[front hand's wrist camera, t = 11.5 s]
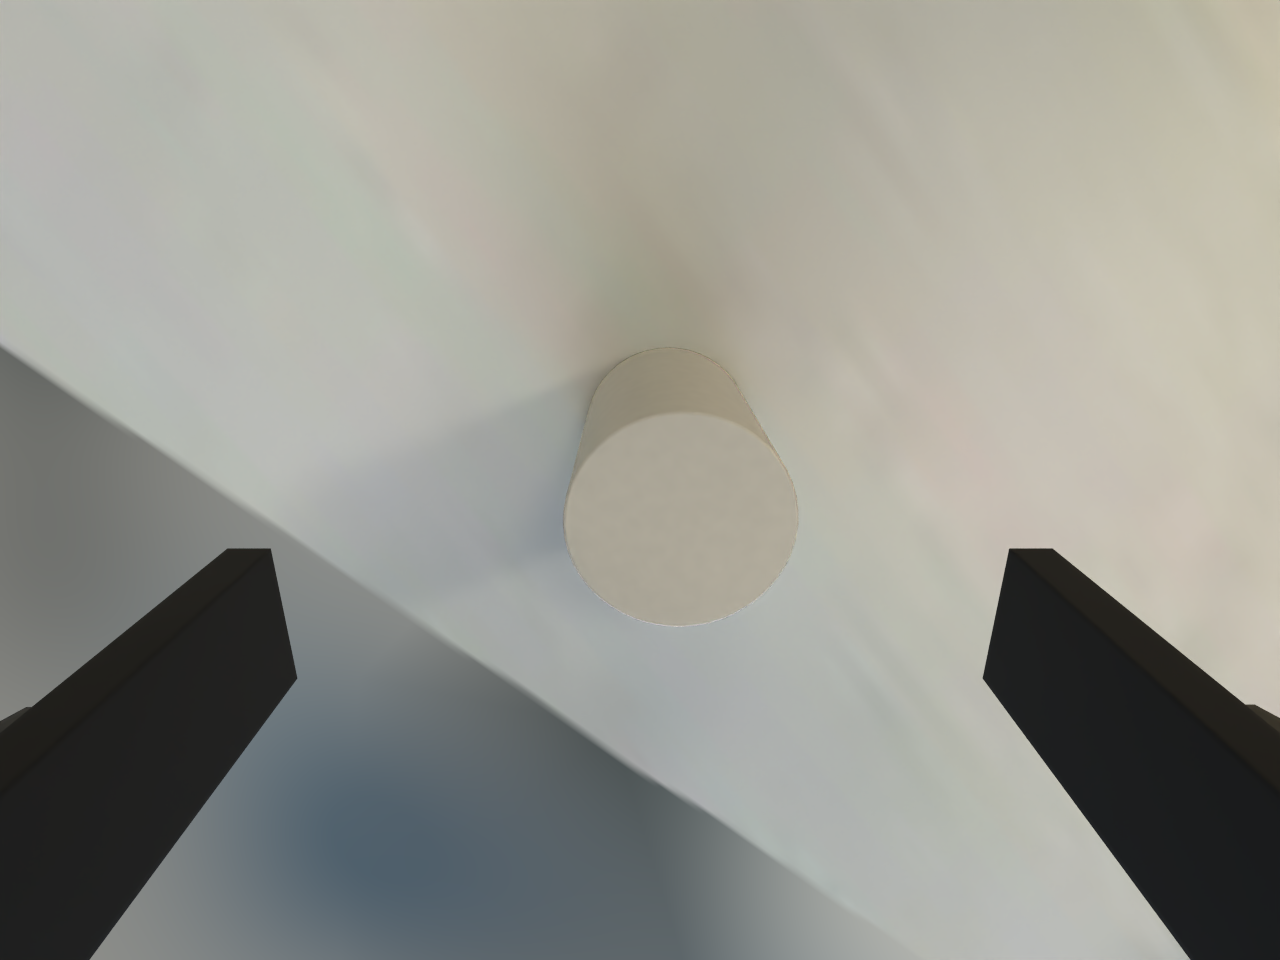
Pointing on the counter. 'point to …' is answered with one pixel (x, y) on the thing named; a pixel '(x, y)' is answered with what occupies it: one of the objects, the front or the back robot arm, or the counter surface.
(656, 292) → the counter surface
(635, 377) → the cylinder
